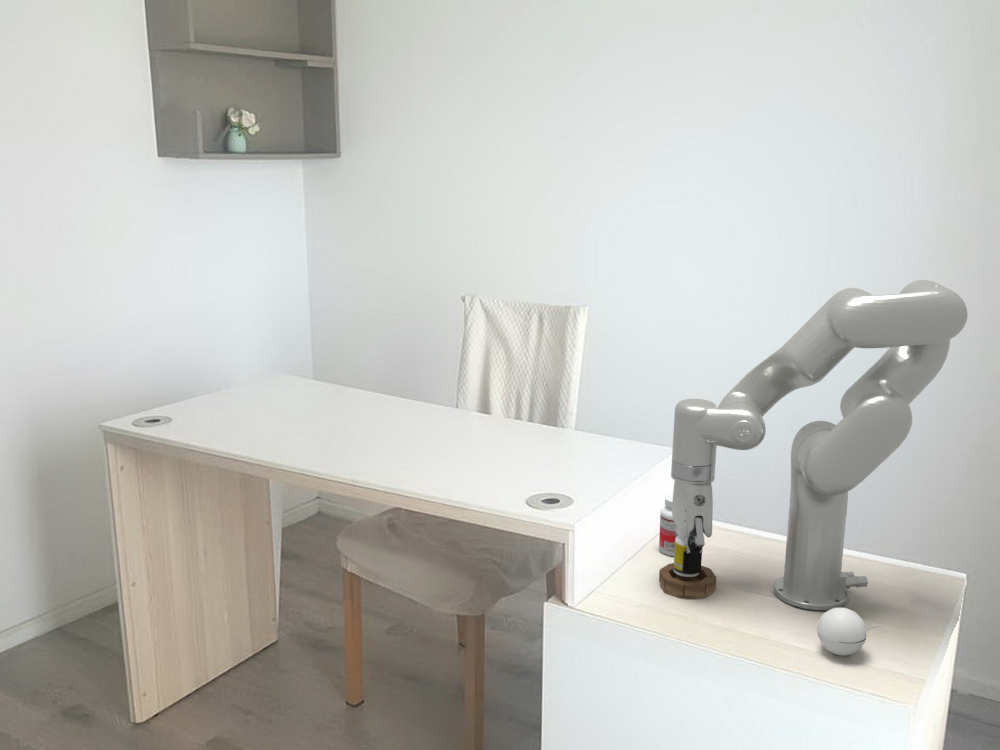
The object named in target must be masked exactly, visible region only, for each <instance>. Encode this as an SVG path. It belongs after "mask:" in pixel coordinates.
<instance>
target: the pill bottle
mask: <svg viewBox="0 0 1000 750" xmlns="http://www.w3.org/2000/svg"><path fill="white" fill-rule="evenodd" d="M672 502H673V493H671V494H667V495H666V496H665V497H664V506H663V507H662V508H661V510H660V516H659V541H658V542H659V543H658V544H659V545H658V549H659V550H660V552H661V553H662V554H663V555H666V556H670V557H674V549H675V539H676V537H675V531H676V524H675V522H674V520H673V517H672Z"/></svg>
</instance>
